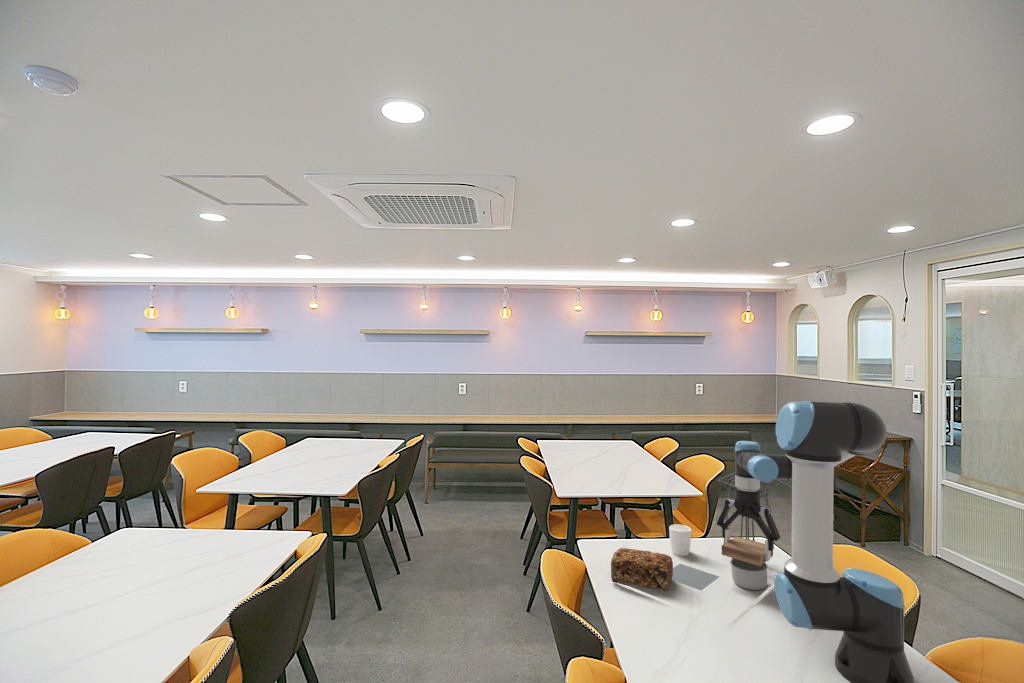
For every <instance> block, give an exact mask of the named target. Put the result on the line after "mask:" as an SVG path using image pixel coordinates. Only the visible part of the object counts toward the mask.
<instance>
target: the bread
mask: <svg viewBox="0 0 1024 683" xmlns="http://www.w3.org/2000/svg"><path fill="white" fill-rule="evenodd" d="M616 550H617V551H614V553H613V555H612V557H611V561H610V574H611V575H610V578H611V581H612V583H615V584H620V585H623V586H628V587H630V585H629V584H632V585H634V586H635V585H636V586H639V587H644V588H648V589H654V590H658V591H662V592H663V591H664V592H668V591H669V589H670V586H671V583H672V581H673V580H672V576H673V568H674V562H673V558H672V557H671V556H669V554H665V553H660V552H655V551H654V552H652V551H649V550H640V549H634V548H626V547H622V548H621V547H620V548H619V549H616ZM626 583H627V584H626Z"/></svg>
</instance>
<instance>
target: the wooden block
mask: <svg viewBox="0 0 1024 683" xmlns="http://www.w3.org/2000/svg"><path fill="white" fill-rule="evenodd" d="M721 555H722V556H726V557H728V558H730V559H732V558H734V559H738V560H741V561H744V562H748V563H751V564H754V565H757V566H761V565H762V564H763V563H766V562H767V561H765V543H762V542H759V541H756V540H755V541H753V539H749V540H748V538H747V539H746V537H742V538H741V537H740V536H737V535H735V536H734V537H733V538H730V540H729V541H728V542H726V543H725V544H724V543H723V544H722V545H721ZM773 556H774V550H773V551H771V558H772V557H773Z"/></svg>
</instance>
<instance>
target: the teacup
mask: <svg viewBox="0 0 1024 683" xmlns="http://www.w3.org/2000/svg"><path fill="white" fill-rule="evenodd" d="M730 567H731V568H730V570H731V577H732V580H733V582H734V583H735V585H737V586H738V587H740V588H742V589H746V590H750V591H760V590H763V589H764V588H766V586H767V584H768V565H767V564H766V562H765V563H763V564H762V565H761V566H757V565H754V564H751V563H748V562H744V561H741V560H738V559H734V558H733V559H732V558H731V560H730Z"/></svg>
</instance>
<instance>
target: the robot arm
mask: <svg viewBox="0 0 1024 683" xmlns="http://www.w3.org/2000/svg"><path fill="white" fill-rule="evenodd" d="M777 415H778V416H777V418H776V422H775V436H776V441H777V444H778V446H779V447H780V448H781V449H782V450H784V451H785V453H784V454H775V453H774V454H772V453H771V454H769V453H768V454H767V453H765V454H764V453H761V452H762V450H761V445H760V443H758V442H757V441H753V440H752V441H751V440H749V441H748V440H738V441H737V442H736V443H735V448H734V466H735V467H734V470H735V471H734V472H735V474H734V476H735V478H734V480H735V486H736V488H734V493H735V494H734V500H735V501H732V500H733V499H731V498H729V499H728V498H727V499H726V500H725V501H724V507H723V509H722V511H721V513H720V515H719V517H718V519H717V521H716V525H717V526H719V527H721V528H722V529H721V530H722V531H721V532H722V533H721V534H722V538H723V539H724V538H725V543H726V542H728V541H729V540H731V530H732V528H731V527H730V525H731V524H732V523H733V522H734V521H736V519H737V518H738V517H739V516H740V517H741V516H743V518H744V517H745V518H746V517H747V519H748V518H749V519H751V518H753V522H756V524H757V525H758V527H759V529H760V530H761V531H762V533H763V535H764V536H765V538H766V539H765V541H764V544H765V561H766V562H770V560H771V558H772V557H771V551H773V552H774V548H775V547H774V546H775V544H774V543H775V541H779V540H780V539H781V535H780V533H779V530H778V528H777V525H776V523H775V520H774V518H773V516H772V509H771V507H770V506H769V507H767V506H766V507H767V508H764V507H765V506H764V507H763V506H761V505H762V504H760V502H761V498H760V496H761V491H760V490H759V489H760V488H761V483H760V481H763V482H768V483H770V481H774V480H781V481H782V480H785V481H786V480H788V481H791V552H790V553H791V555H790V557H791V558H788V560H786V561H785V562H784V563H783V572H778V573H776V574H775V576H774V577H773V578H774V579H773V583H774V584H773V585H774V586H773V587H774V593H775V598H776V600H777V602H778V606H779V609H780V611H781V613H782V615H783V617H784V619H785V620H786V621H787V622H788V623H789V624H790V625H791V626H793V627H795V628H799V629H801V628H802V629H808V630H810V631H811V630H820V631H821V630H822V631H823V630H824V631H836V632H837V631H838V632H843V633H842V637H841V638H840V641H839V643H838V646H837V648H836V651H835V655H834V664H835V665H834V666H835V668H836V670H837V671H838V672H839V673H840V674H841V675H842V676H843V677H844V678H846V680H848V681H849V682H851V683H915V678H914V675H913V672H912V669H911V666H910V664H909V661H908V658H907V655H906V653H905V609H906V606H905V600H904V593H903V591H902V589H901V587H900V586H899V585H898V584H896V583H895V582H894V581H892V580H890V579H889V578H887V577H885V576H882V575H880V574H877V573H874V572H871V571H867V570H865V569H859V568H853V567H848V568H845V569H844V570H843V572H842V576H841V574H840V573H839V571H838V570H837V569H836V568H835V567H834V488H835V487H834V486H835V485H834V481H835V480H834V478H835V477H834V473H835V472H834V471H835V470H834V469H835V467H836V466H838V465H840V464H843V463H844V462H846V461H847V460H850V459H852V458H854V457H855V456H857V457H864V456H868V455H869V454H870V455H871V454H872V453H874V452H876V451H877V450H878V449H880V448H881V447H882V446H883V445H884V443H885V441H886V439H887V438H886V437H887V428H886V424H885V422H884V420H883V418H882V417H881V416H880V414H878V413H877V412H876V411H875V410H873V409H872V408H870V407H869V406H866V405H864V404H862V403H856V402H846V401H845V402H835V401H810V400H803V401H791V402H788V403H787V404H785V405H783V406H782V408H781V409H780V411H779V413H778V414H777ZM733 506H734V507H735V511H734V512H733V513H732V515H731V516H730V517H728V518H727V521H726V516H727V514H729V512H730V509H731V507H733ZM760 512H762V514H763V515H764V518H765V520H766V522H765V521H764V520H763V517H762V516H761V514H760ZM766 523H767V524H766ZM768 526H769V528H770V530H769V529H768Z"/></svg>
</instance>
